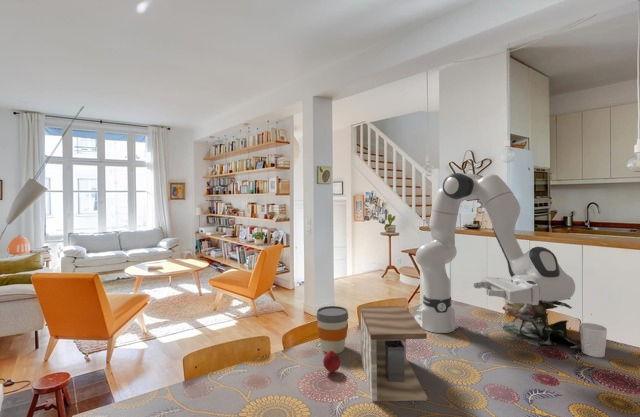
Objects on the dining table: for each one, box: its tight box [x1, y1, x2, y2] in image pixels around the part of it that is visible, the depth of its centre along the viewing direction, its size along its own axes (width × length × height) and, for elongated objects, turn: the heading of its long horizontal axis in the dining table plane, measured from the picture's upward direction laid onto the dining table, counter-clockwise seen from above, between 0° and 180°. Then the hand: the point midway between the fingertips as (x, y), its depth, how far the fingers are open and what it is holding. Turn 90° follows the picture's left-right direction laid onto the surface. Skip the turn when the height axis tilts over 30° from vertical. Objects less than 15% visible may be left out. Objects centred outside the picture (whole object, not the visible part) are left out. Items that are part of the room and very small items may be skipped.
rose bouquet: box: [501, 297, 592, 351], centre depth 145 cm, size 26×29×30 cm
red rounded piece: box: [322, 349, 341, 374], centre depth 116 cm, size 6×6×8 cm
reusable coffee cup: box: [316, 305, 349, 354], centre depth 135 cm, size 13×13×15 cm
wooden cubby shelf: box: [360, 305, 428, 402], centre depth 112 cm, size 26×16×20 cm, turn 0°
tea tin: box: [385, 340, 405, 382], centre depth 110 cm, size 5×5×11 cm
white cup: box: [579, 322, 608, 358], centre depth 127 cm, size 8×8×10 cm
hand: (480, 288), depth 115 cm, fingers open, 8 cm apart
